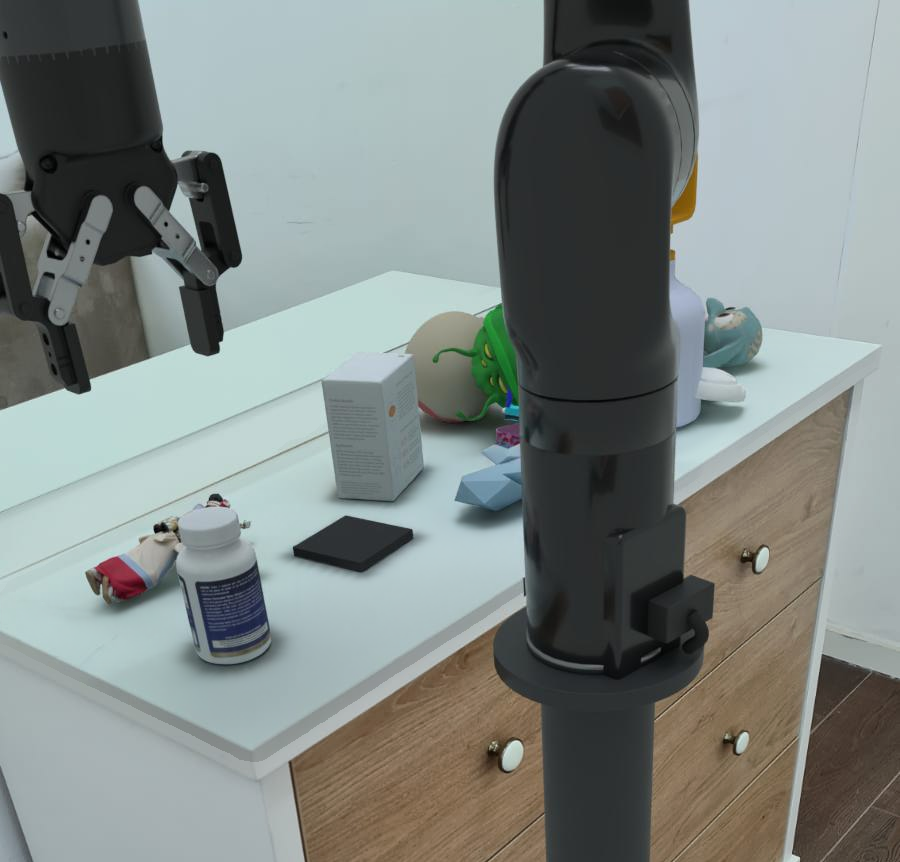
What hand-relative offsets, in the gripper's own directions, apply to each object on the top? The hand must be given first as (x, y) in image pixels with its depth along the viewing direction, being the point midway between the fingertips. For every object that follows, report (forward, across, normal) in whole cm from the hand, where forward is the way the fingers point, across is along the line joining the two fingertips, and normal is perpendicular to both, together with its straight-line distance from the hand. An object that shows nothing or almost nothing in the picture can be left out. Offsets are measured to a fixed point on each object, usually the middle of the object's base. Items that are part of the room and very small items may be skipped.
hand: (144, 371), depth 68 cm
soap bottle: (+20, +57, +9) cm, 61 cm away
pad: (+20, +19, +9) cm, 29 cm away
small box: (+21, +30, +18) cm, 40 cm away
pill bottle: (+21, +3, +2) cm, 21 cm away
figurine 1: (+21, +7, +14) cm, 26 cm away
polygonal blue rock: (+20, +34, +5) cm, 40 cm away
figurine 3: (+16, +39, +12) cm, 43 cm away
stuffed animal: (+20, +73, +16) cm, 77 cm away
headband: (+22, +45, +12) cm, 51 cm away
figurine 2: (+15, +46, +19) cm, 52 cm away
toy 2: (+12, +46, +21) cm, 52 cm away
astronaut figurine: (+20, +64, +14) cm, 68 cm away
